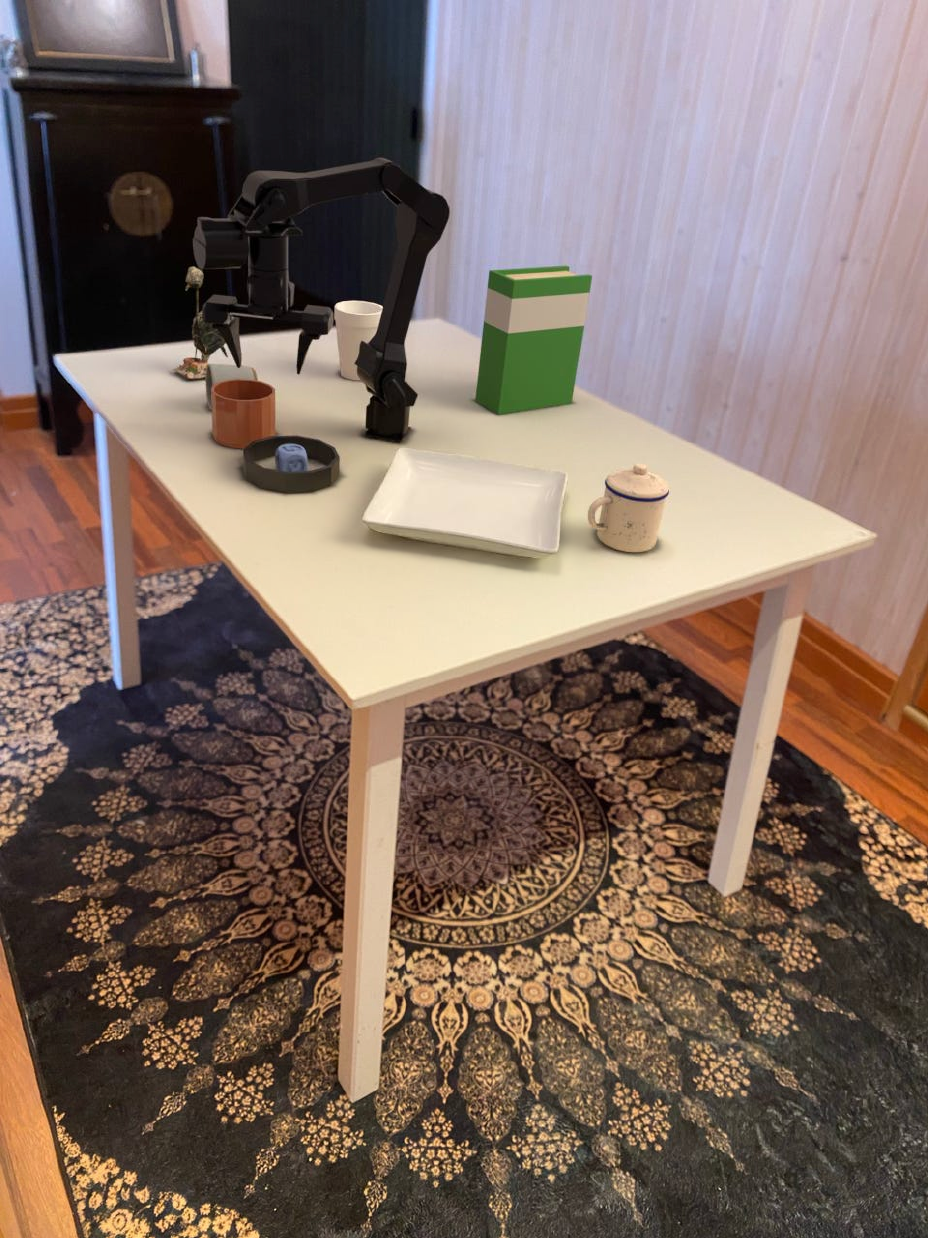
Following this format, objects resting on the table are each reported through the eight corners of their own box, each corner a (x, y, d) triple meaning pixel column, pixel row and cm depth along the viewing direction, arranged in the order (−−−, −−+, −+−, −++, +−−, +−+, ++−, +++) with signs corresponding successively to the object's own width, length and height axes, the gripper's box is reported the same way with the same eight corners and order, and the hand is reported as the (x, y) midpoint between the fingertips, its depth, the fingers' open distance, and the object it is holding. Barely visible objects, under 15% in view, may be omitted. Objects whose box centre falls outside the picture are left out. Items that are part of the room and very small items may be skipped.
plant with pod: (240, 376, 190) (238, 266, 179) (182, 383, 183) (177, 270, 173) (222, 362, 195) (219, 255, 184) (165, 369, 189) (159, 258, 178)
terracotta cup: (284, 431, 169) (284, 385, 165) (261, 453, 161) (260, 405, 156) (228, 421, 170) (227, 375, 166) (202, 442, 162) (200, 394, 158)
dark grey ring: (349, 463, 160) (350, 445, 159) (319, 499, 149) (319, 479, 147) (265, 448, 162) (265, 429, 161) (228, 482, 151) (228, 462, 149)
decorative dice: (274, 468, 156) (274, 444, 154) (299, 466, 158) (300, 442, 156) (282, 479, 153) (282, 454, 151) (307, 476, 155) (308, 452, 153)
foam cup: (325, 377, 194) (326, 308, 187) (343, 363, 201) (346, 297, 194) (371, 386, 192) (374, 317, 185) (388, 372, 199) (392, 306, 192)
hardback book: (548, 390, 200) (566, 265, 187) (571, 402, 195) (592, 275, 182) (475, 400, 191) (489, 270, 178) (498, 414, 186) (514, 281, 173)
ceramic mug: (260, 413, 174) (260, 370, 170) (213, 416, 171) (211, 371, 167) (247, 393, 183) (246, 351, 179) (201, 395, 180) (199, 352, 176)
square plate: (358, 543, 138) (359, 518, 136) (397, 466, 161) (399, 443, 159) (554, 573, 136) (558, 548, 134) (565, 491, 160) (569, 468, 158)
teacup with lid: (633, 521, 153) (648, 449, 146) (669, 549, 146) (686, 475, 140) (566, 531, 147) (579, 457, 141) (600, 561, 141) (615, 484, 135)
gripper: (340, 260, 155) (337, 360, 163) (218, 247, 154) (221, 348, 163) (328, 278, 145) (325, 383, 153) (199, 264, 145) (203, 370, 153)
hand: (269, 370), depth 156 cm, fingers open, 9 cm apart
